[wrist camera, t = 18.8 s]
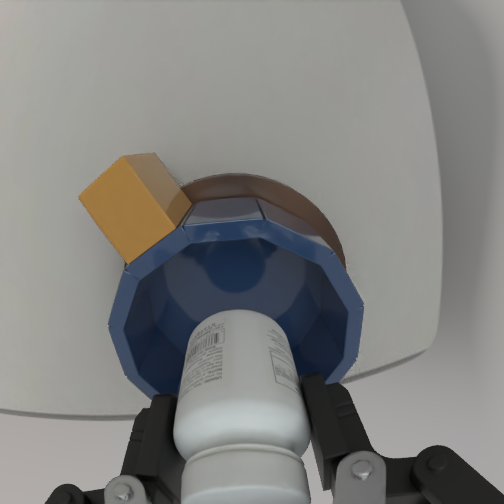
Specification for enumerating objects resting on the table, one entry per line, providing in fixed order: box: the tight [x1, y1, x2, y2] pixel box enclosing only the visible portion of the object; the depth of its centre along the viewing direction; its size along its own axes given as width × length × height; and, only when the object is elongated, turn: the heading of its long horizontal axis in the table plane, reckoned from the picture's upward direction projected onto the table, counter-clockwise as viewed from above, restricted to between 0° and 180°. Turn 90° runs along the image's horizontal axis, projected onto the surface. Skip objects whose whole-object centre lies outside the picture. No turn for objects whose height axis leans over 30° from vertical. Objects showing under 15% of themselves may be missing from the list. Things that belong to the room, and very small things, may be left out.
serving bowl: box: [78, 153, 364, 400], centre depth 15 cm, size 15×12×5 cm
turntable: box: [124, 173, 346, 270], centre depth 19 cm, size 14×14×1 cm
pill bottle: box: [173, 309, 311, 504], centre depth 9 cm, size 4×4×8 cm
